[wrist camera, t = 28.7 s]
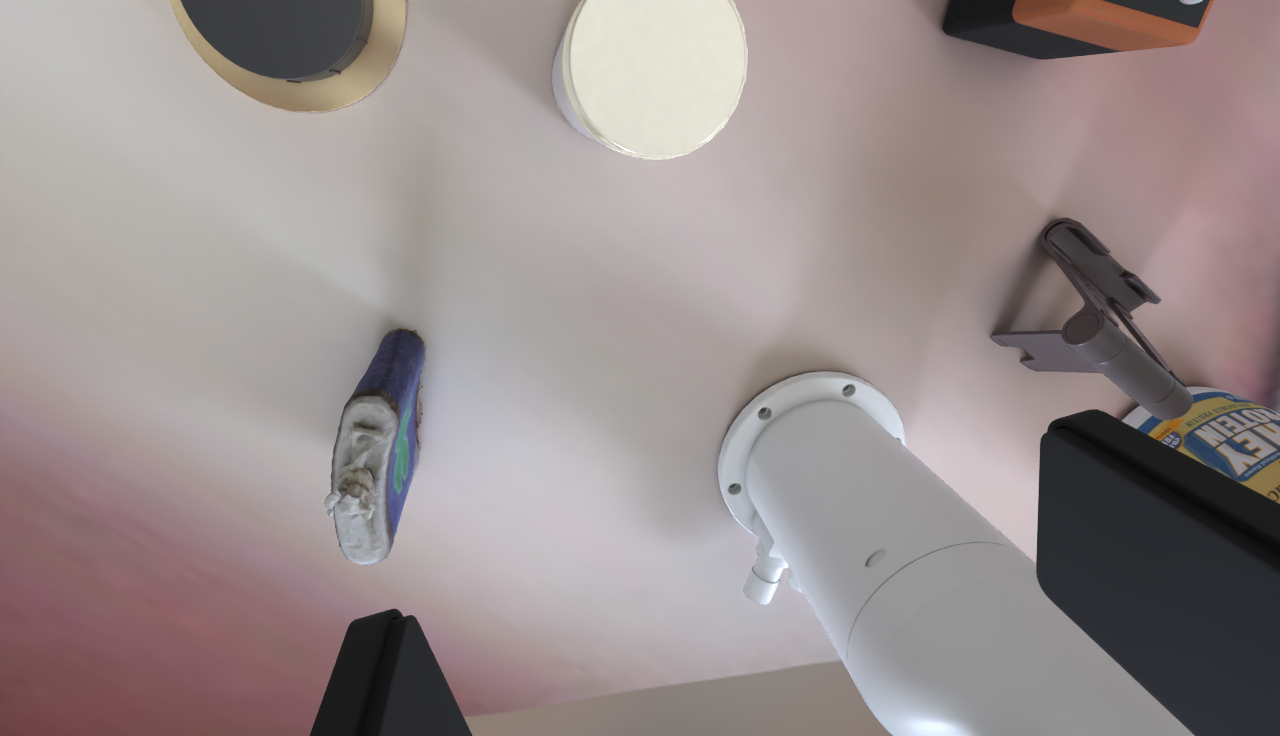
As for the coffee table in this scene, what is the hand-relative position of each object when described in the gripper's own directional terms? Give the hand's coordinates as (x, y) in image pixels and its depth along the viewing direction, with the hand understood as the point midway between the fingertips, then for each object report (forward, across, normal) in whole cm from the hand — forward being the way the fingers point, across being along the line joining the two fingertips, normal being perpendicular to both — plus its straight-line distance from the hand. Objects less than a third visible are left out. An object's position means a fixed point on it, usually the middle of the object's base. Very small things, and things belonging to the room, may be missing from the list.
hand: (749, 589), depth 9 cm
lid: (+26, +10, -14) cm, 31 cm away
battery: (+28, -25, -7) cm, 38 cm away
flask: (+28, +13, +6) cm, 32 cm away
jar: (+28, -3, -8) cm, 29 cm away
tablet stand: (+28, -28, +12) cm, 42 cm away
